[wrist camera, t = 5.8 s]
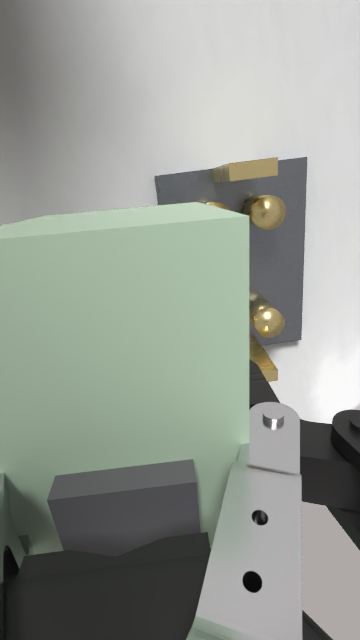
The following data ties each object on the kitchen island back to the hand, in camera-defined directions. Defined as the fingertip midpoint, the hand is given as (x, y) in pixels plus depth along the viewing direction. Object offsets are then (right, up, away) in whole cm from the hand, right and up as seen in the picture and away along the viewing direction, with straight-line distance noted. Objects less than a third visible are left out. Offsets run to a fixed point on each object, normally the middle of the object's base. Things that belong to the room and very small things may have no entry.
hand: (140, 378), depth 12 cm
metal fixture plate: (+6, +7, +17) cm, 19 cm away
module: (0, +1, +2) cm, 2 cm away
